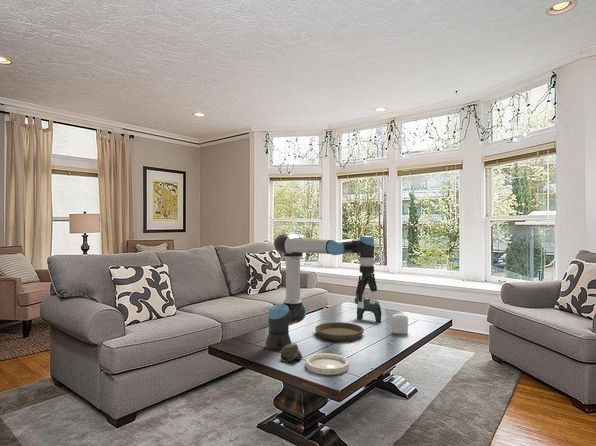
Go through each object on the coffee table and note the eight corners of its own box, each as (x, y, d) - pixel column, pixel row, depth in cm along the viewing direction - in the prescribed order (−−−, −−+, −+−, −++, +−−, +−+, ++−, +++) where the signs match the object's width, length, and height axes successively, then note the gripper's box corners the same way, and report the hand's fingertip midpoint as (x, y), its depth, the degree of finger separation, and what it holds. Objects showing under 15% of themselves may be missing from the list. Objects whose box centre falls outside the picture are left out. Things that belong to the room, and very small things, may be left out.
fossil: (276, 361, 191) (279, 341, 196) (283, 364, 199) (285, 344, 203) (296, 363, 188) (299, 342, 192) (302, 366, 195) (304, 346, 200)
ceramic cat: (354, 318, 278) (354, 292, 278) (357, 317, 284) (358, 290, 284) (379, 323, 267) (379, 295, 267) (382, 321, 272) (382, 293, 272)
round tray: (297, 367, 184) (297, 362, 184) (321, 355, 201) (321, 350, 201) (334, 378, 171) (334, 372, 171) (356, 364, 188) (356, 359, 188)
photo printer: (407, 332, 244) (407, 313, 244) (408, 334, 240) (408, 315, 240) (391, 332, 245) (391, 313, 245) (392, 333, 241) (392, 314, 241)
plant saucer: (319, 326, 258) (319, 320, 258) (364, 329, 251) (364, 322, 251) (311, 340, 227) (311, 333, 227) (363, 344, 221) (363, 336, 221)
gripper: (362, 268, 184) (362, 311, 184) (383, 263, 204) (383, 302, 204) (349, 266, 189) (349, 308, 189) (370, 262, 209) (370, 300, 209)
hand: (366, 305), depth 197 cm, fingers open, 13 cm apart
